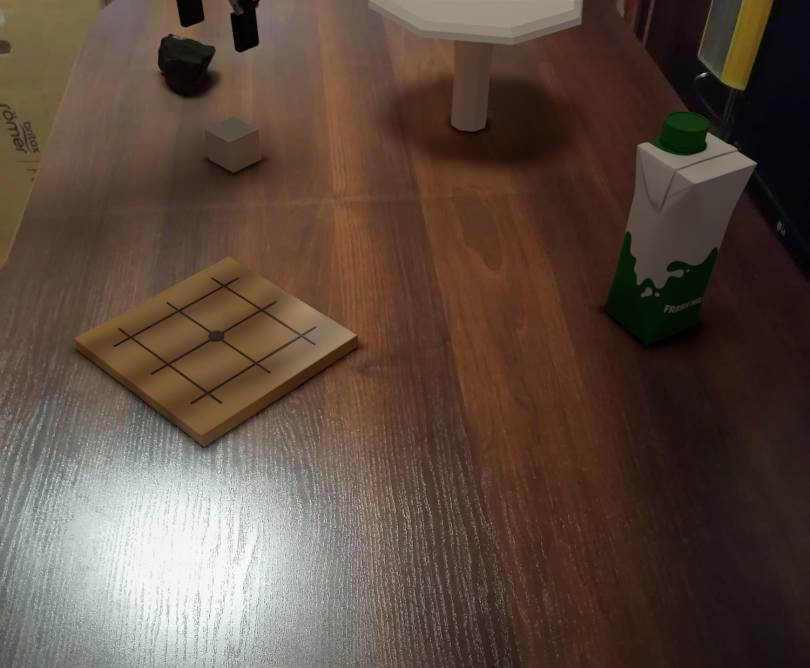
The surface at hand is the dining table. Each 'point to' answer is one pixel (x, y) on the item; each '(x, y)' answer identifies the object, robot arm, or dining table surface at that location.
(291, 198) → the dining table surface
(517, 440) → the dining table surface
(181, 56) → the rock
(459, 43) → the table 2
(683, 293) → the milk carton
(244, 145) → the two-tone grey box
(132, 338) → the board
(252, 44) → the robot arm
